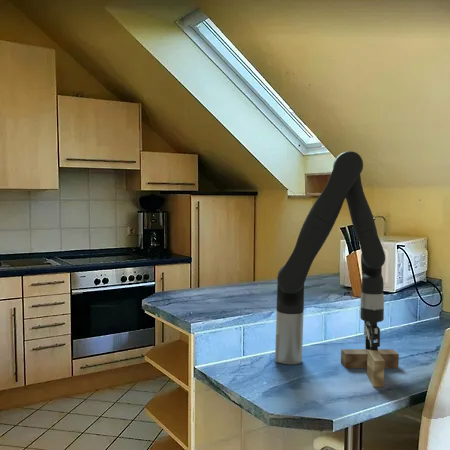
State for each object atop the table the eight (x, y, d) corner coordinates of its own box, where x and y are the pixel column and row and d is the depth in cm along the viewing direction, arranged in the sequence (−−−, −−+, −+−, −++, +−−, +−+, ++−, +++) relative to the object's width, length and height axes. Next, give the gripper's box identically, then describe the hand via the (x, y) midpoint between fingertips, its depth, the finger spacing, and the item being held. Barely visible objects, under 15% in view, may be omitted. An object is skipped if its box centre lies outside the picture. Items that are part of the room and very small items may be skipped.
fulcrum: (373, 386, 144) (374, 360, 143) (366, 374, 154) (367, 349, 153) (383, 387, 143) (384, 361, 143) (376, 375, 153) (377, 350, 153)
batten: (345, 368, 159) (345, 354, 159) (340, 363, 164) (341, 349, 164) (398, 368, 160) (398, 354, 160) (392, 363, 165) (392, 349, 165)
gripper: (356, 301, 169) (356, 346, 170) (364, 310, 154) (363, 360, 155) (378, 301, 168) (378, 347, 169) (388, 311, 154) (387, 361, 155)
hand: (371, 353), depth 162 cm, fingers open, 8 cm apart
